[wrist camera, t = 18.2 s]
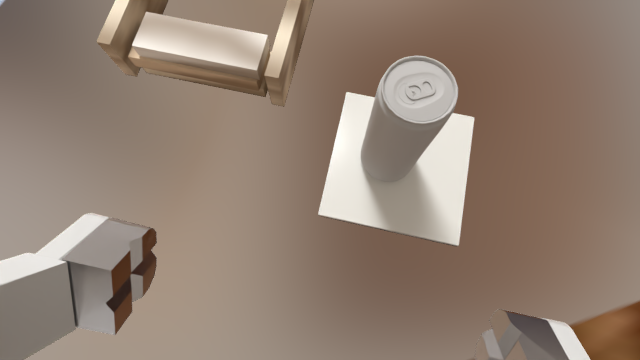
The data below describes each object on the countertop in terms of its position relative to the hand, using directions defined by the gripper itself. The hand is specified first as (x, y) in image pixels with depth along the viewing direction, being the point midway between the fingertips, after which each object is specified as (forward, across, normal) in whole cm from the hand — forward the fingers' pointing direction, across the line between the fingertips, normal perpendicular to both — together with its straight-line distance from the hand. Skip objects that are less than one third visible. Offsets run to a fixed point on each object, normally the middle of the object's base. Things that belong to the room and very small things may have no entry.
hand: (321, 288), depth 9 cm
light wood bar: (+30, -14, -3) cm, 33 cm away
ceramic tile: (+25, +6, -7) cm, 27 cm away
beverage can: (+25, +5, -6) cm, 26 cm away
